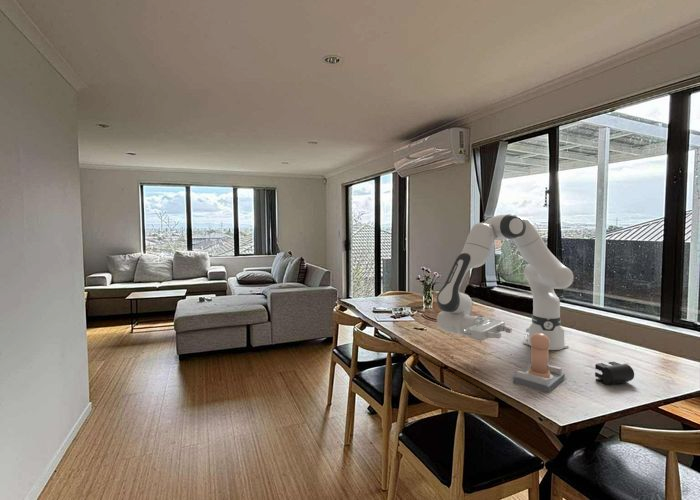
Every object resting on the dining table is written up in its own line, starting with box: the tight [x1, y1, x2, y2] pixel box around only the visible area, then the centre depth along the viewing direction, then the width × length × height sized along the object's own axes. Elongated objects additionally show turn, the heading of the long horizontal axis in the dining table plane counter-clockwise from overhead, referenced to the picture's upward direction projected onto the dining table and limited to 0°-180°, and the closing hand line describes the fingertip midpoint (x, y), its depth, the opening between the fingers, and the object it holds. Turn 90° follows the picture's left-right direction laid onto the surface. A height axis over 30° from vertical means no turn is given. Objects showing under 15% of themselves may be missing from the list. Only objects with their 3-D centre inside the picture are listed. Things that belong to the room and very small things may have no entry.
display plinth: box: [512, 364, 566, 393], centre depth 135 cm, size 16×12×4 cm
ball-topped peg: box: [529, 333, 550, 378], centre depth 135 cm, size 7×7×15 cm
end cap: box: [594, 361, 635, 386], centre depth 133 cm, size 10×7×7 cm
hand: (505, 333), depth 144 cm, fingers open, 8 cm apart
